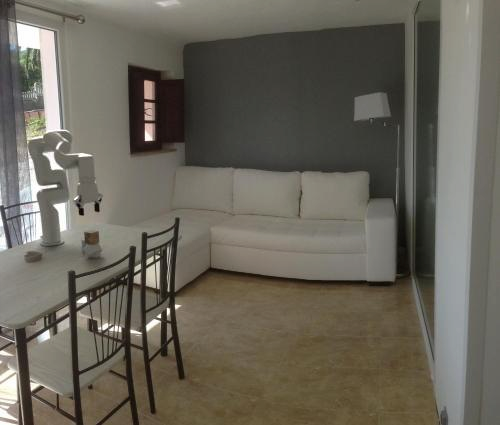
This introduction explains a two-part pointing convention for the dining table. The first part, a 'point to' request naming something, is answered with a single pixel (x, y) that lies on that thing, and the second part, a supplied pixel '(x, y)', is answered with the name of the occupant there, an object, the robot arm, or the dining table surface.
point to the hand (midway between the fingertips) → (89, 213)
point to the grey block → (83, 244)
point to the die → (92, 250)
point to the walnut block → (91, 237)
